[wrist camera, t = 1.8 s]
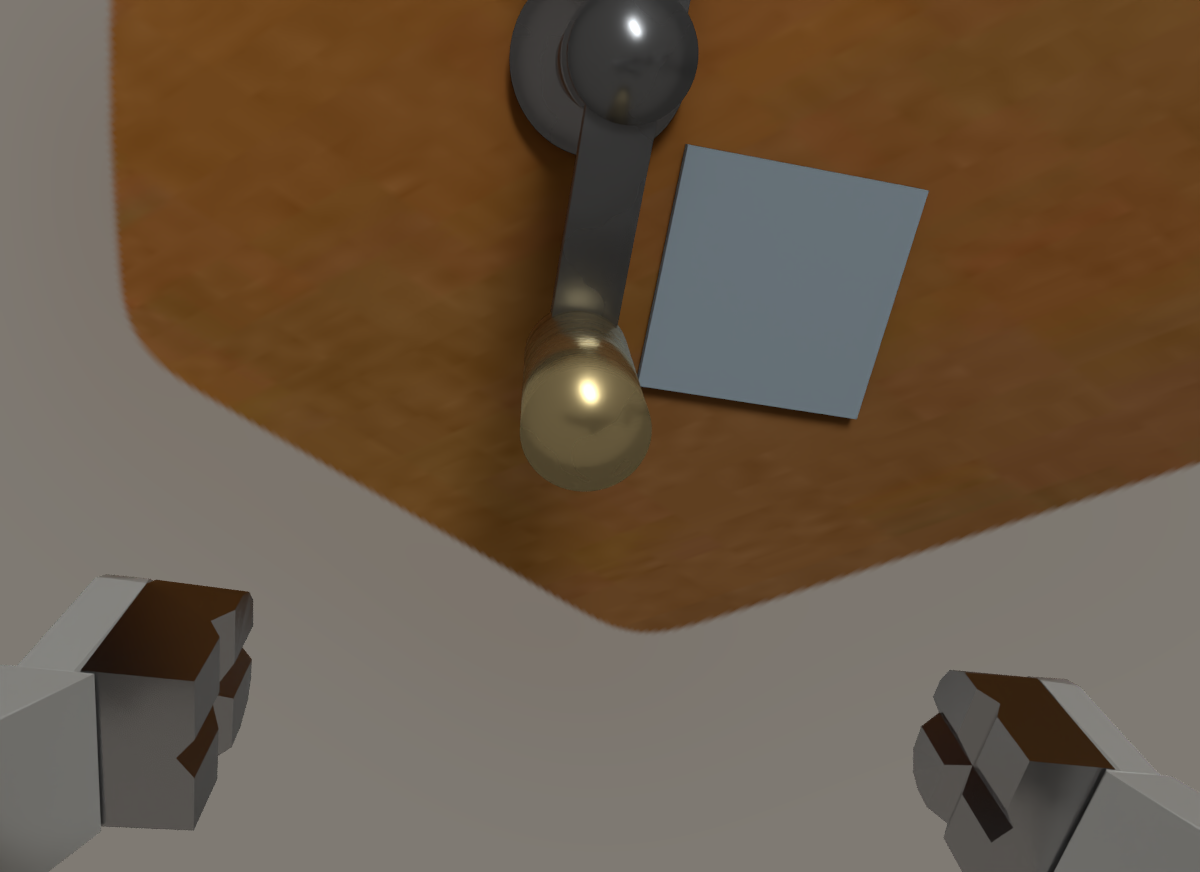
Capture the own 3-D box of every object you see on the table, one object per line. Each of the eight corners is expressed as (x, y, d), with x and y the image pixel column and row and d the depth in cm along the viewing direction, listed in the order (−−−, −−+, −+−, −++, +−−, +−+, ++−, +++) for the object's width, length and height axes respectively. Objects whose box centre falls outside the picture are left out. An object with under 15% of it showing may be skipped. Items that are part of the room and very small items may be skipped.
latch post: (703, -16, 28) (787, -64, 19) (666, 170, 31) (724, 213, 21) (524, -54, 28) (515, -125, 18) (499, 139, 30) (478, 168, 20)
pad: (923, 189, 31) (928, 190, 31) (852, 414, 35) (856, 419, 34) (685, 143, 30) (688, 145, 30) (636, 381, 34) (637, 385, 33)
